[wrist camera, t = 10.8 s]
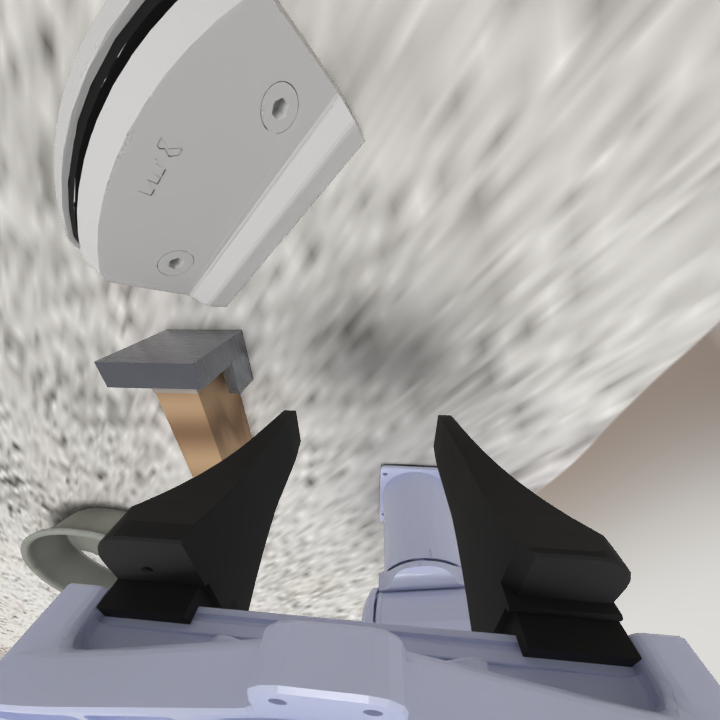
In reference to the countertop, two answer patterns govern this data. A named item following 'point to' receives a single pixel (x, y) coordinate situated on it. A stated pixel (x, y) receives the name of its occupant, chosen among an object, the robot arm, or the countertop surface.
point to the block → (205, 422)
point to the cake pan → (71, 549)
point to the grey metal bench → (180, 361)
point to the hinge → (194, 142)
